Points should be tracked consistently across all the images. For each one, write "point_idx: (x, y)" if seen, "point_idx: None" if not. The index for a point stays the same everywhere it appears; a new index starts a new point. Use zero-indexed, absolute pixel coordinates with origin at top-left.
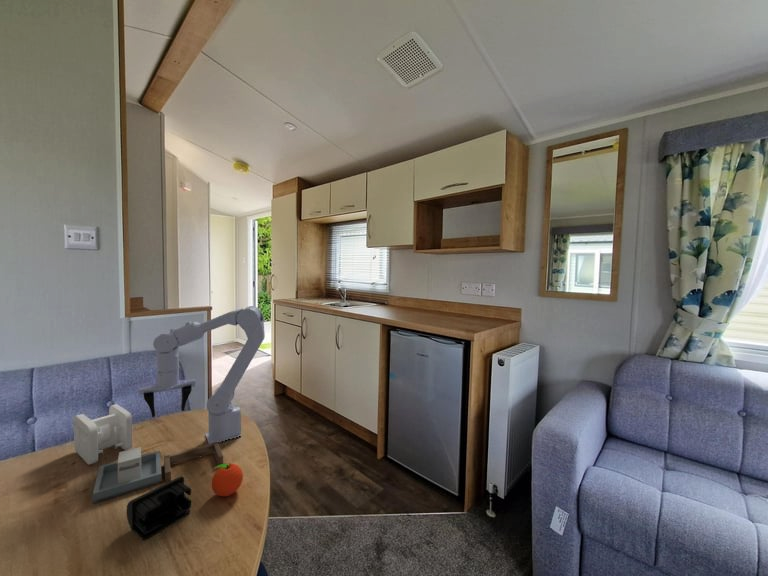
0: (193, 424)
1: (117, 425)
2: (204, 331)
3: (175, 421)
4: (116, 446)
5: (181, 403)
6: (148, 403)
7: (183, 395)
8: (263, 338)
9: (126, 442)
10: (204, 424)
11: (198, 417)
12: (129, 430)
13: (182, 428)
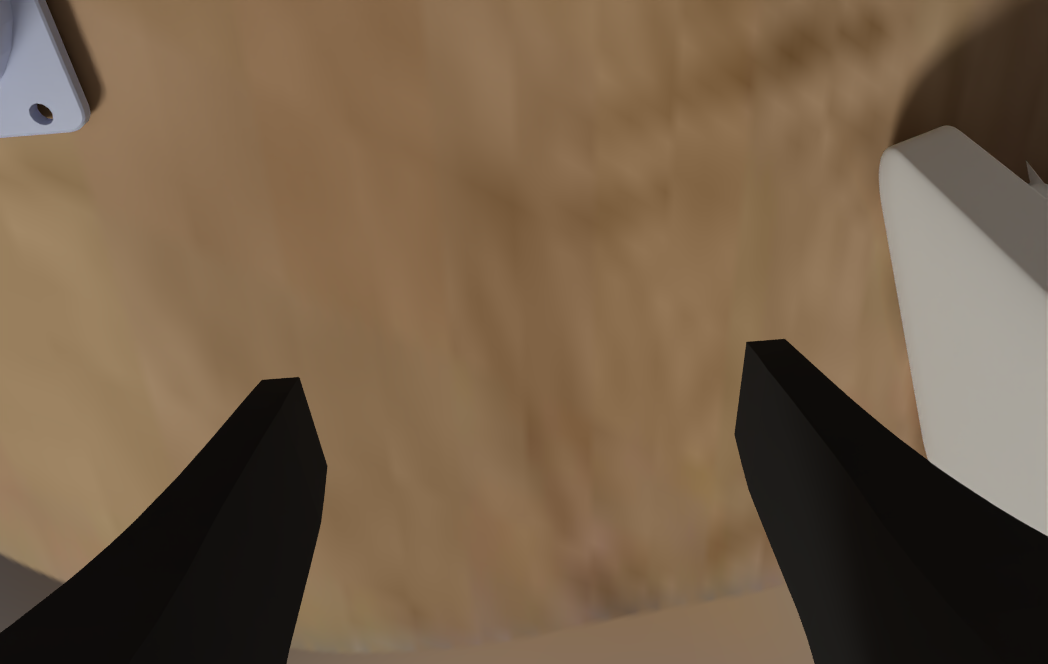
0: None
1: None
2: None
3: (472, 541)
4: (1039, 187)
5: (307, 555)
6: (1045, 547)
7: (115, 659)
8: None
9: (985, 153)
10: (186, 390)
11: None
12: (1038, 237)
13: (398, 397)
